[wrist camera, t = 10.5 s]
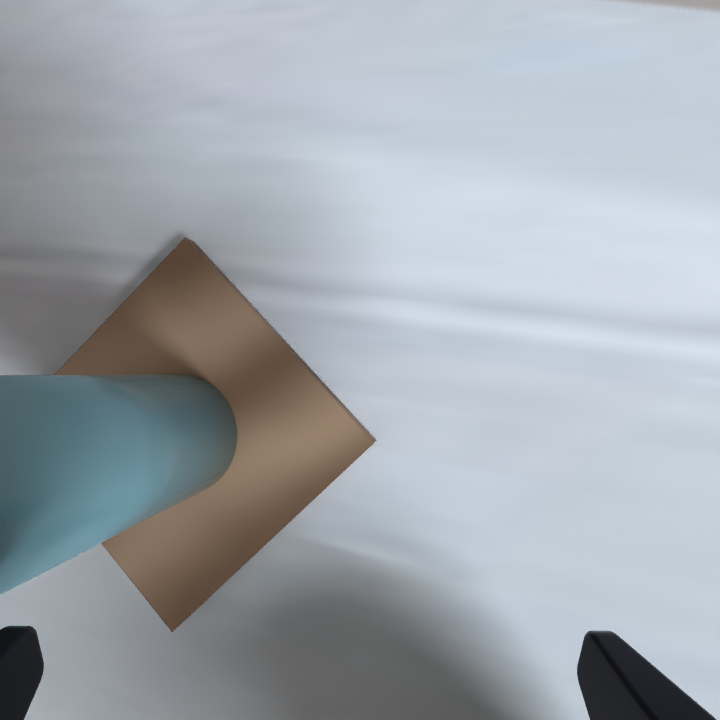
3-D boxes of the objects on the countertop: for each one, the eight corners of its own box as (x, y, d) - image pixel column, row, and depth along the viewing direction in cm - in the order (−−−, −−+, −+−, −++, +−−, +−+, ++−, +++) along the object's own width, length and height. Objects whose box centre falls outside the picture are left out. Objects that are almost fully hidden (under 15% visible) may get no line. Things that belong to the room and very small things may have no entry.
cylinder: (235, 499, 21) (-78, 699, 8) (121, 491, 22) (-327, 661, 9) (239, 376, 21) (-62, 382, 8) (126, 372, 22) (-309, 371, 9)
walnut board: (376, 440, 21) (373, 442, 20) (181, 622, 22) (171, 631, 21) (194, 242, 22) (185, 237, 22) (21, 423, 24) (6, 424, 23)
